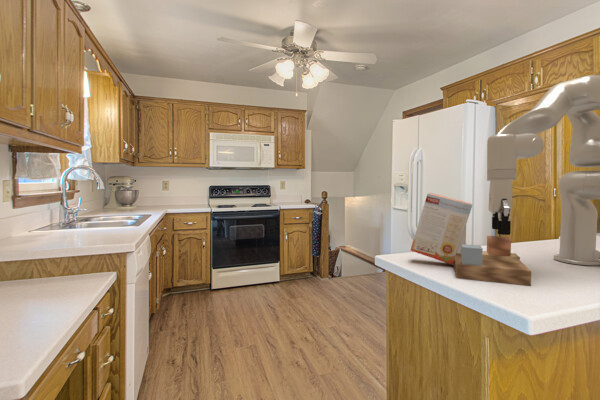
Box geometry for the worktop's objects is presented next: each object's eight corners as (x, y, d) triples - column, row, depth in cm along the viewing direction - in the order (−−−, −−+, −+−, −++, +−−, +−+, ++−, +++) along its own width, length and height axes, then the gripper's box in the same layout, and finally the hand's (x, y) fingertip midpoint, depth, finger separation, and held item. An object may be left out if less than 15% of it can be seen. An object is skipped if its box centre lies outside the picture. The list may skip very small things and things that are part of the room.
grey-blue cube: (479, 262, 94) (480, 245, 94) (481, 266, 90) (482, 248, 90) (460, 260, 96) (461, 244, 96) (462, 264, 92) (462, 247, 92)
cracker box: (453, 261, 109) (473, 203, 105) (452, 265, 103) (473, 204, 100) (412, 247, 115) (429, 192, 111) (409, 250, 109) (427, 192, 106)
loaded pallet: (515, 259, 98) (516, 237, 98) (519, 263, 93) (520, 240, 92) (478, 256, 102) (479, 235, 102) (480, 260, 97) (481, 238, 96)
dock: (516, 270, 100) (517, 258, 100) (530, 285, 85) (531, 271, 85) (453, 264, 107) (453, 252, 107) (456, 277, 92) (456, 264, 92)
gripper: (483, 176, 105) (482, 227, 107) (491, 176, 89) (491, 236, 91) (509, 175, 102) (509, 227, 104) (523, 175, 87) (522, 237, 88)
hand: (500, 231), depth 97 cm, fingers open, 9 cm apart
